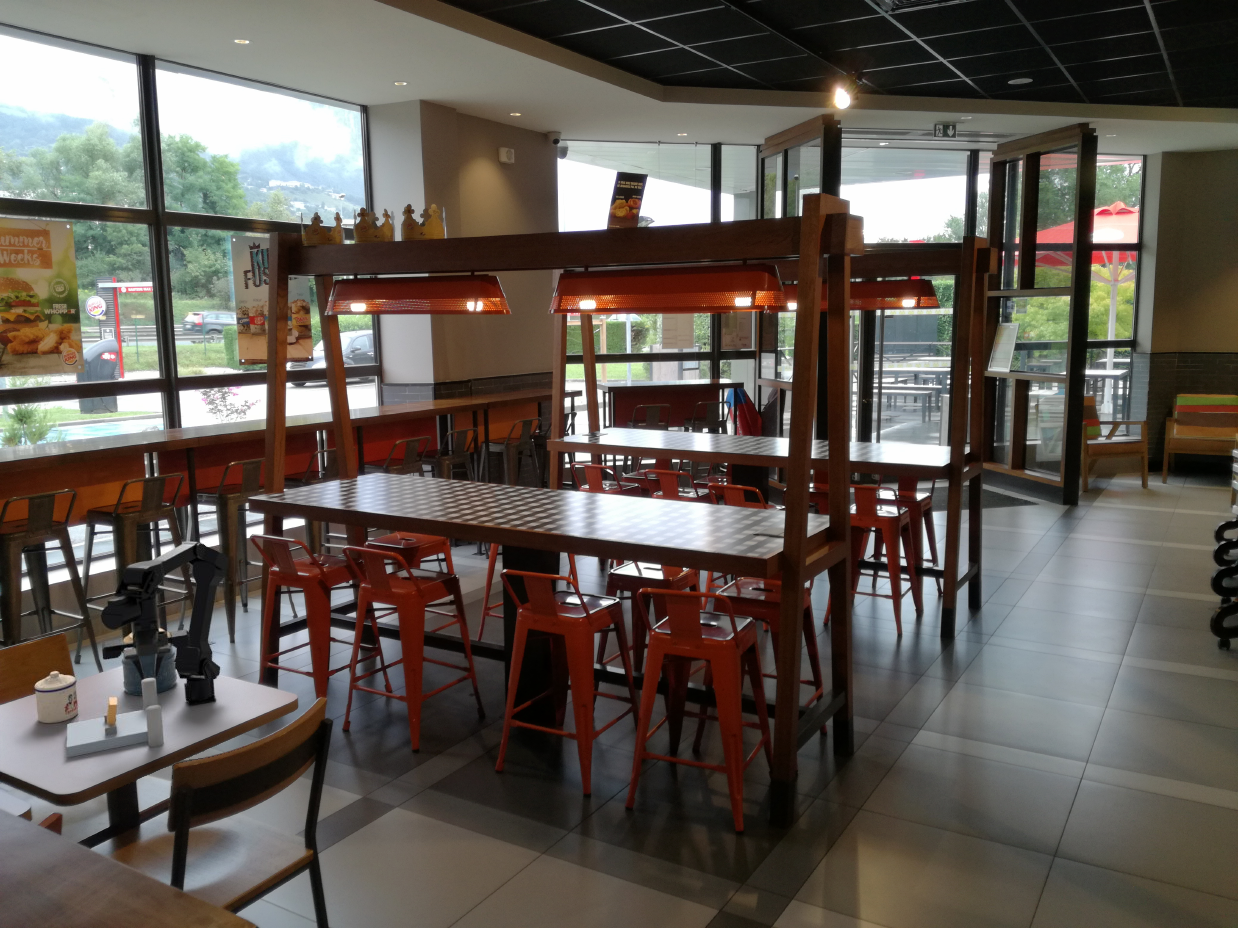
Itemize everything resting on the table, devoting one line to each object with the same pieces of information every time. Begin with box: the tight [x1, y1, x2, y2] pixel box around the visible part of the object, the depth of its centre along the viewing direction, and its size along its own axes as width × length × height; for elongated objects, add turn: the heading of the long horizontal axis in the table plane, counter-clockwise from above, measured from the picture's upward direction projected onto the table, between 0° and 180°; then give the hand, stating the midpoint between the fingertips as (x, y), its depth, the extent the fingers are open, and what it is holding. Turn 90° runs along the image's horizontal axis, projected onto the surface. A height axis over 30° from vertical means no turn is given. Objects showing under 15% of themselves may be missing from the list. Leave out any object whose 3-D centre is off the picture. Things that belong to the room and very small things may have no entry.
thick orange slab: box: [106, 697, 118, 724], centre depth 217 cm, size 2×5×5 cm, turn 30°
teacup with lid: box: [33, 670, 79, 724], centre depth 230 cm, size 12×9×12 cm
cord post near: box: [146, 704, 165, 748], centre depth 214 cm, size 3×3×9 cm
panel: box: [66, 709, 148, 758], centre depth 218 cm, size 18×14×4 cm
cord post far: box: [141, 678, 159, 710], centre depth 230 cm, size 3×3×9 cm
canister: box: [121, 627, 178, 696], centre depth 246 cm, size 13×13×18 cm
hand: (149, 677), depth 221 cm, fingers open, 3 cm apart
